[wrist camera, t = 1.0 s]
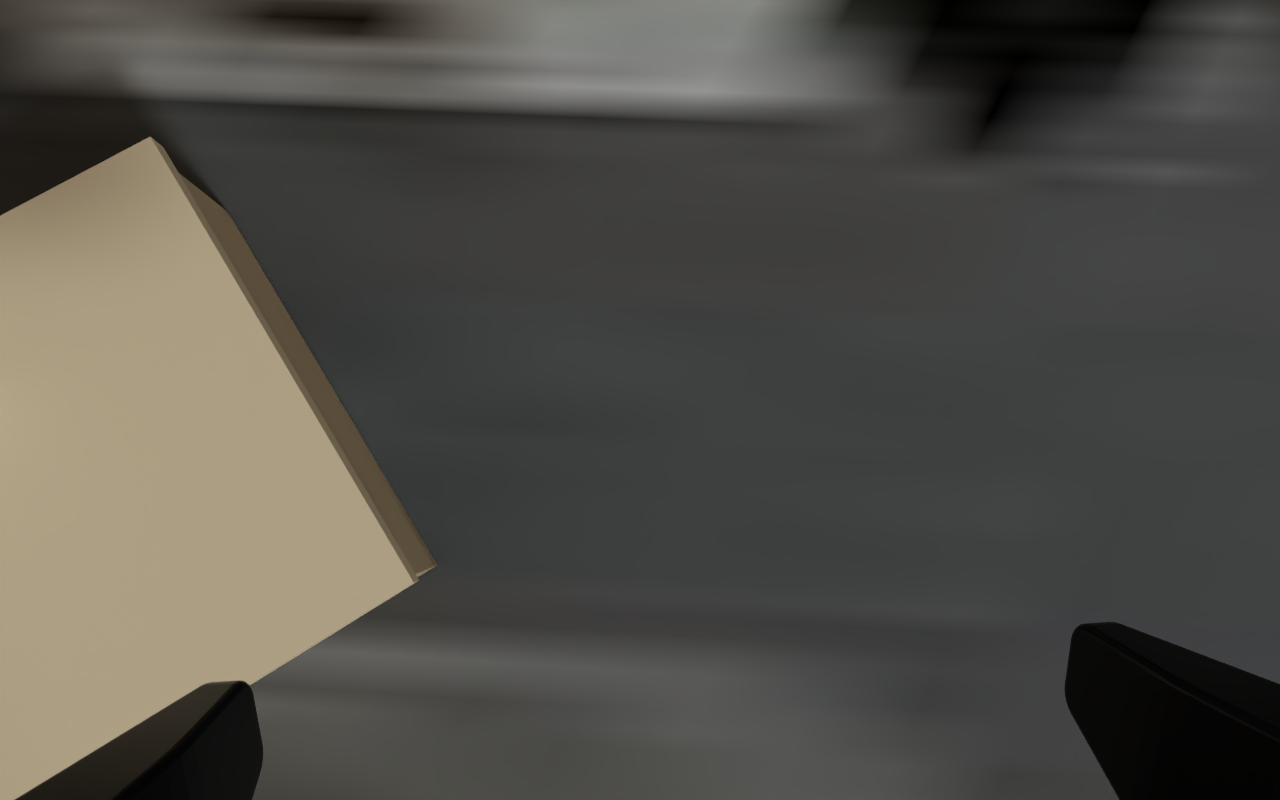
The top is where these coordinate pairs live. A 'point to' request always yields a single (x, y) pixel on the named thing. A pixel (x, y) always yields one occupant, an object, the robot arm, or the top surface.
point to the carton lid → (154, 473)
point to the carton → (315, 382)
